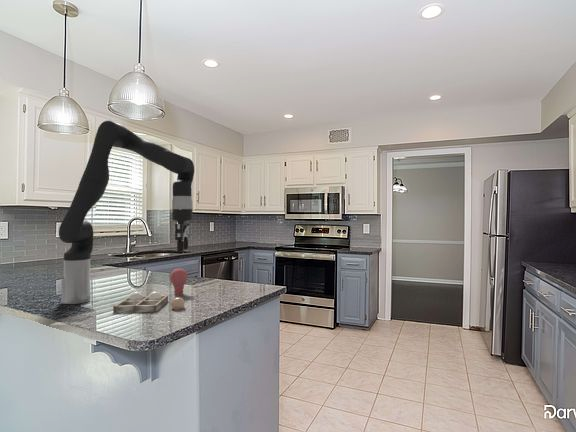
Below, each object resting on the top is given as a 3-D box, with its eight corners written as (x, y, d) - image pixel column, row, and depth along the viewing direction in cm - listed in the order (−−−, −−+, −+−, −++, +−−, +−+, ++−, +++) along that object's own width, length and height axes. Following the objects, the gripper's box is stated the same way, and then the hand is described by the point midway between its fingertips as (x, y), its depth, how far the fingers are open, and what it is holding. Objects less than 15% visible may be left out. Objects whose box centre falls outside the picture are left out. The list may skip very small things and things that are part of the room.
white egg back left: (127, 306, 128) (127, 293, 128) (132, 302, 133) (132, 290, 133) (140, 305, 129) (140, 293, 129) (144, 302, 133) (144, 290, 133)
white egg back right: (146, 305, 129) (146, 293, 129) (150, 302, 134) (150, 290, 134) (159, 305, 129) (159, 292, 129) (163, 302, 134) (162, 289, 134)
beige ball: (169, 312, 123) (169, 299, 123) (173, 308, 127) (173, 296, 127) (183, 312, 123) (183, 298, 123) (186, 308, 128) (186, 295, 128)
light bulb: (182, 298, 143) (182, 270, 143) (166, 297, 144) (166, 269, 144) (190, 294, 150) (190, 267, 149) (175, 294, 151) (175, 267, 151)
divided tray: (113, 314, 120) (113, 306, 120) (129, 303, 135) (129, 296, 134) (156, 313, 121) (156, 305, 121) (167, 303, 136) (167, 295, 136)
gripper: (176, 208, 137) (177, 248, 137) (167, 208, 123) (168, 252, 123) (195, 208, 138) (196, 248, 138) (188, 207, 124) (189, 252, 124)
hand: (182, 250), depth 131 cm, fingers open, 8 cm apart
